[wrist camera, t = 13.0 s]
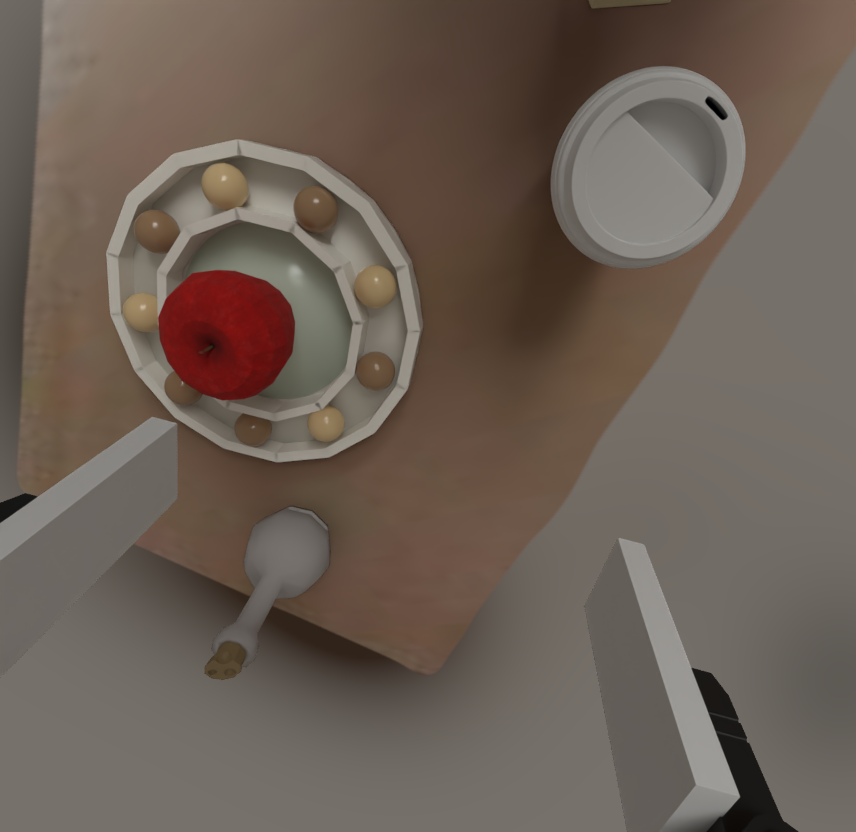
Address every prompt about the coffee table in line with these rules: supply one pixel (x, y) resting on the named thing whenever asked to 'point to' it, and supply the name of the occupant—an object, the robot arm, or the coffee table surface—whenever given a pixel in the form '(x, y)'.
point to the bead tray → (288, 272)
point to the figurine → (623, 3)
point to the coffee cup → (647, 167)
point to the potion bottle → (271, 581)
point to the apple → (226, 333)
